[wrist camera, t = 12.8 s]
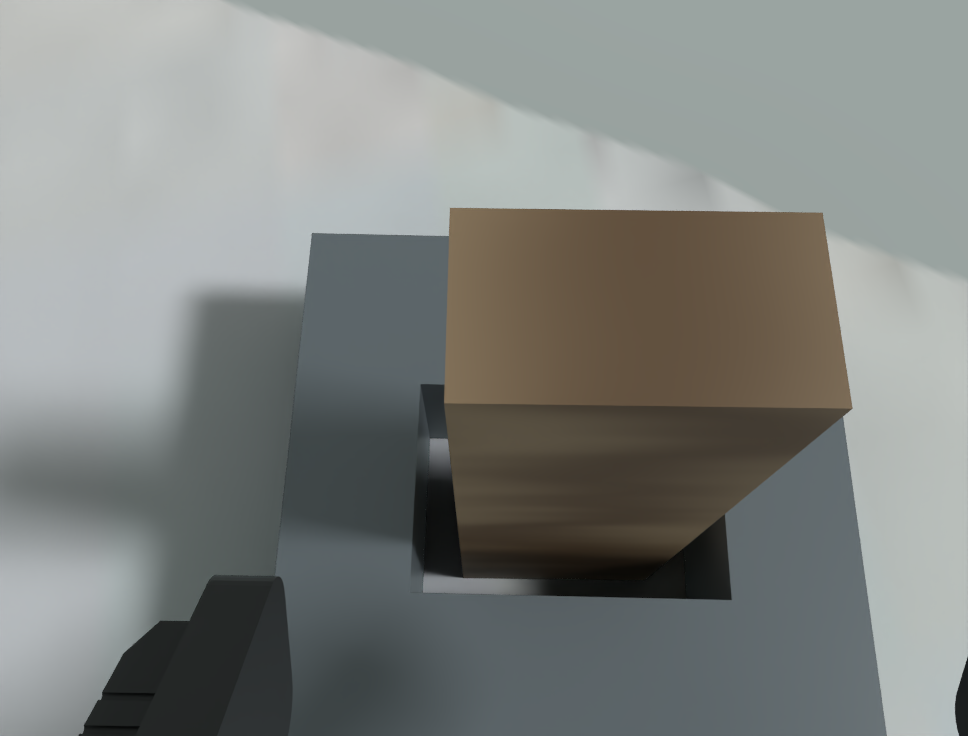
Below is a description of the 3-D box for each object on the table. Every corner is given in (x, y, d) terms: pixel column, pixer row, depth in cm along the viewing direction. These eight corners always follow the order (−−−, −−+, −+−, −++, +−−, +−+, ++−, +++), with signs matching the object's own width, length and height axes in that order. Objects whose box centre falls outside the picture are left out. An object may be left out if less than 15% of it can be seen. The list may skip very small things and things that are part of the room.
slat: (463, 577, 22) (444, 403, 10) (465, 479, 23) (450, 208, 11) (644, 579, 22) (852, 407, 10) (639, 481, 23) (822, 212, 11)
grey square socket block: (293, 781, 20) (251, 795, 16) (337, 306, 24) (312, 233, 21) (819, 793, 20) (897, 811, 16) (767, 316, 24) (819, 244, 21)
